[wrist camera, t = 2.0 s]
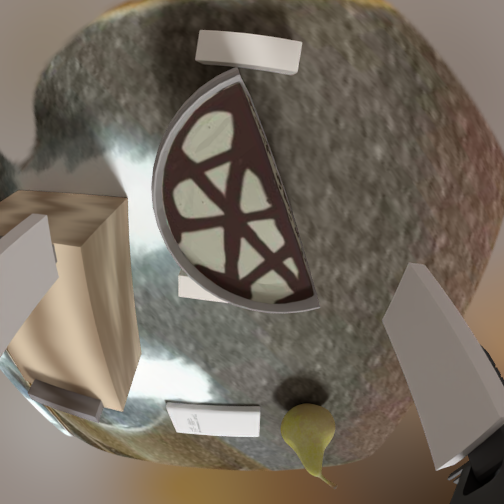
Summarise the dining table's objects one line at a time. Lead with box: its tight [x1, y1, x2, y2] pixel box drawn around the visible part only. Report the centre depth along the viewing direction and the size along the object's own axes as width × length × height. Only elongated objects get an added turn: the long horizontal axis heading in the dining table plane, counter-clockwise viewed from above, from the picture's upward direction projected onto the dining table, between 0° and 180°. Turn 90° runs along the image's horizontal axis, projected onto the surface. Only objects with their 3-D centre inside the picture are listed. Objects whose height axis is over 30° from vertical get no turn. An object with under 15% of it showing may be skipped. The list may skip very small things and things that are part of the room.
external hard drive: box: [166, 402, 260, 437], centre depth 38 cm, size 2×8×12 cm
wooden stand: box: [0, 190, 141, 423], centre depth 22 cm, size 12×18×10 cm, turn 172°
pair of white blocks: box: [179, 30, 302, 303], centre depth 20 cm, size 6×19×3 cm, turn 172°
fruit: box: [281, 403, 337, 489], centre depth 31 cm, size 7×8×12 cm
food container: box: [151, 67, 320, 313], centre depth 17 cm, size 12×6×10 cm, turn 20°
